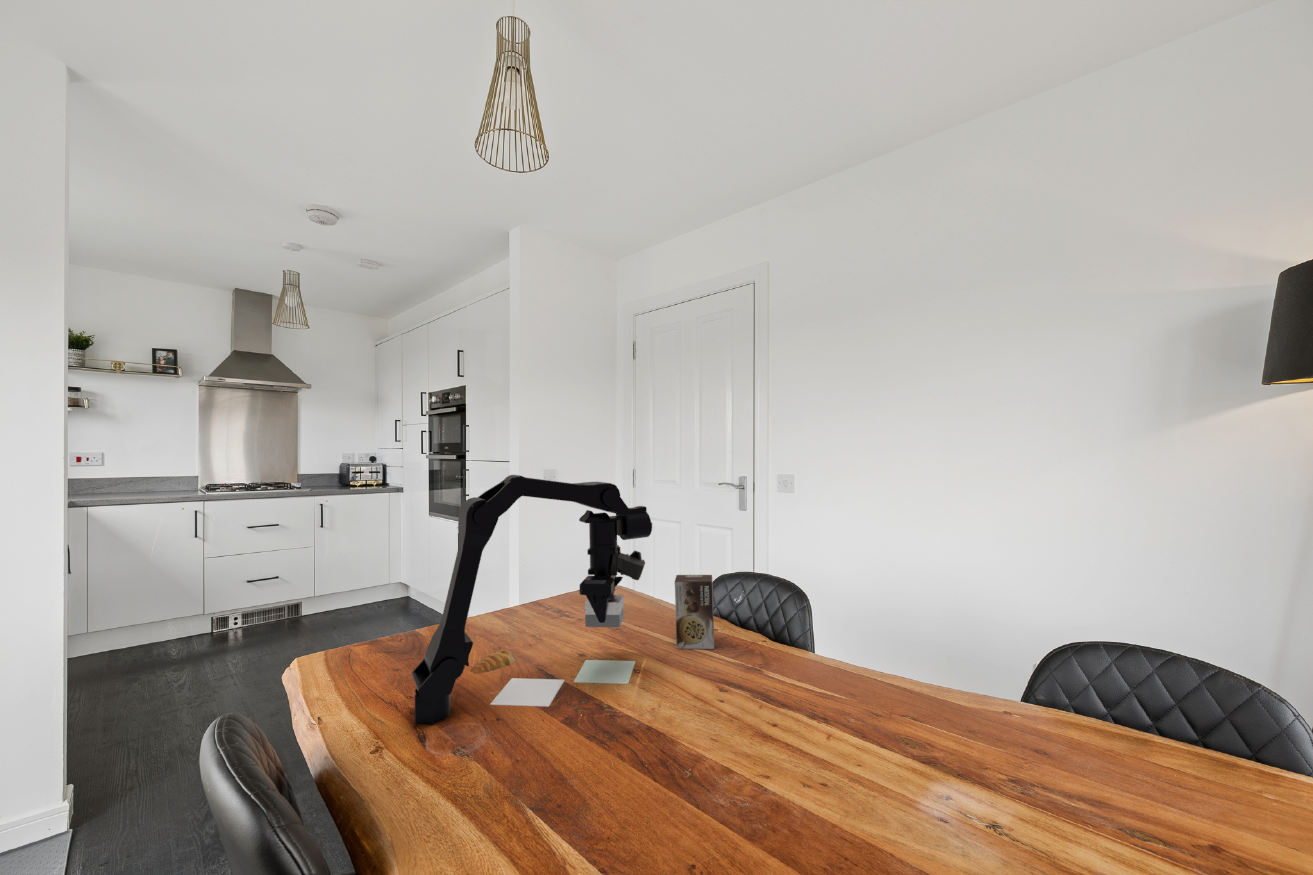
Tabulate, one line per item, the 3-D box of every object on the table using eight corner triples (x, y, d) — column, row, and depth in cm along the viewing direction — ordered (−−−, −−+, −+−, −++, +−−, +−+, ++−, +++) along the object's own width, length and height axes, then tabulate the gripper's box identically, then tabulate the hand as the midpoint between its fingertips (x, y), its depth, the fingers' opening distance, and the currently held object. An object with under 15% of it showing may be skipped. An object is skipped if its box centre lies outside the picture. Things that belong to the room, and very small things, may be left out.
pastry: (482, 684, 112) (481, 666, 112) (462, 677, 116) (461, 659, 116) (518, 668, 119) (518, 651, 119) (498, 662, 123) (498, 645, 123)
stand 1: (548, 714, 98) (548, 706, 98) (490, 712, 100) (489, 704, 100) (564, 687, 109) (564, 679, 109) (511, 685, 110) (511, 678, 110)
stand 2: (628, 691, 107) (628, 683, 107) (573, 689, 108) (573, 682, 108) (635, 667, 118) (635, 661, 118) (585, 666, 119) (585, 659, 119)
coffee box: (714, 639, 134) (713, 574, 134) (714, 649, 128) (713, 580, 128) (677, 639, 135) (676, 573, 135) (675, 649, 129) (674, 580, 129)
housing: (619, 627, 110) (619, 602, 110) (585, 626, 111) (585, 602, 111) (623, 618, 116) (623, 594, 116) (591, 617, 116) (590, 594, 116)
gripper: (635, 551, 103) (637, 634, 103) (646, 534, 122) (648, 604, 122) (578, 551, 104) (579, 633, 104) (597, 534, 123) (599, 604, 123)
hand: (604, 617), depth 113 cm, fingers closed on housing, 5 cm apart
